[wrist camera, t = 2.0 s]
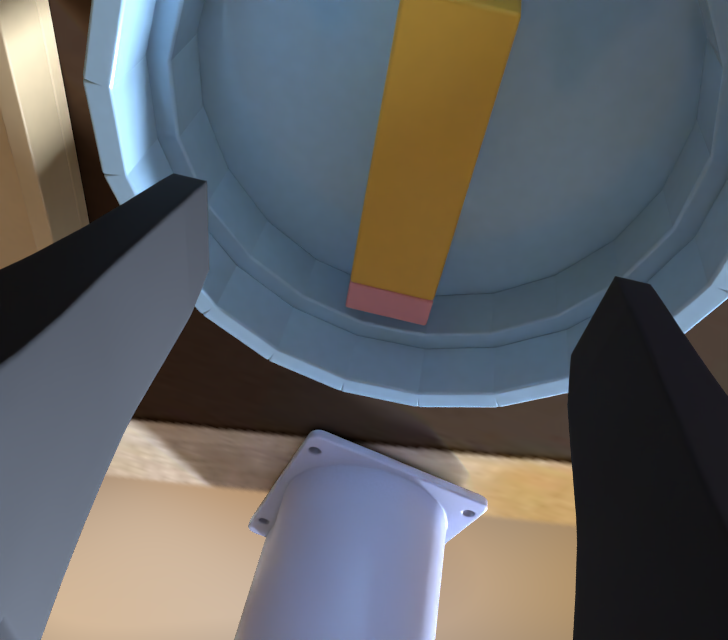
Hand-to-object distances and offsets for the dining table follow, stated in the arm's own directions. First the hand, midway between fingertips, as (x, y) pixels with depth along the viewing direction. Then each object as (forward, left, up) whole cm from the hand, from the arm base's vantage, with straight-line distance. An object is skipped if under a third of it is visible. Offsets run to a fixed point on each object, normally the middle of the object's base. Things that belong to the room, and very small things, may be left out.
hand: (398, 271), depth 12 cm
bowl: (0, 0, -6) cm, 6 cm away
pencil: (0, 0, -6) cm, 6 cm away
